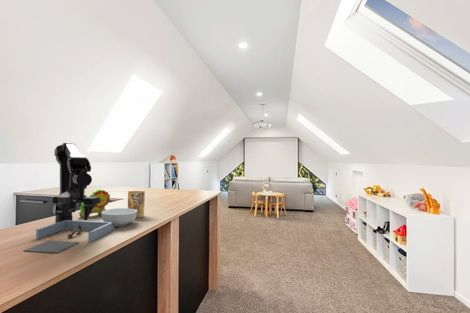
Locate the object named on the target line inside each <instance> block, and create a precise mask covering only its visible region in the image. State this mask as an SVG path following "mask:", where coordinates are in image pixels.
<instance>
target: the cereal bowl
mask: <svg viewBox="0 0 470 313" xmlns="http://www.w3.org/2000/svg"><path fill="white" fill-rule="evenodd" d="M136 216H137V210H135V209H128V207H125V208H124V207H121V208H110V209H109V208H108V209H106V210H105V211H102V215H101V219H102V220H101V221H102V222H113V227H125V226H127V225H128V224H130V223H132V222H134V221H135V219H136V218H137V217H136Z"/></svg>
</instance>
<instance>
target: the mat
mask: <svg viewBox="0 0 470 313" xmlns="http://www.w3.org/2000/svg"><path fill="white" fill-rule="evenodd" d="M78 244H80V242H79V241H69V240H68V241H64V240H51V239H50V240H46V241H44V242H42V243H39V244H37V245H34V246H31V247H29V248H25V249H24V250H23V252H27V253H28V252H30V253H45V254H46V253H48V254H59V253H61V252H63V251H66V250H68V249H70V248H72V247H74V246H77V245H78Z"/></svg>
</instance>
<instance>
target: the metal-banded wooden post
mask: <svg viewBox="0 0 470 313" xmlns="http://www.w3.org/2000/svg"><path fill="white" fill-rule="evenodd" d="M81 226H82V224H79V225H78V227H77V228H75V229H72V232H70V233H68V234H67V238H69V239H71V238H74V235H75V233H76V236H78V235H80V234H81V233H83V232H84V230H82V228H81ZM78 229H80V230H78Z"/></svg>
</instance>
